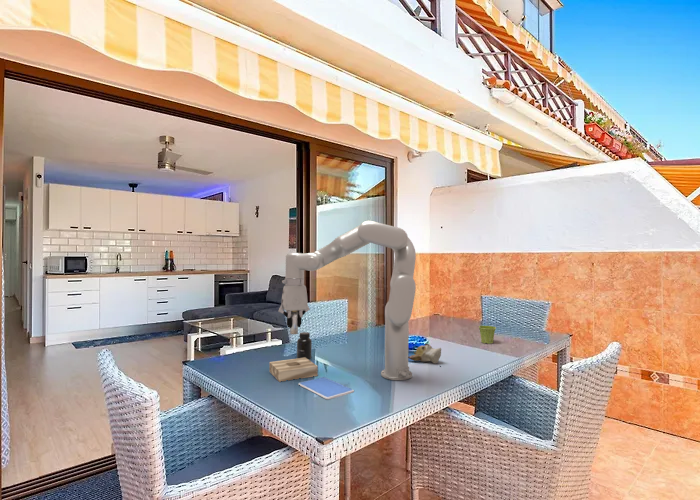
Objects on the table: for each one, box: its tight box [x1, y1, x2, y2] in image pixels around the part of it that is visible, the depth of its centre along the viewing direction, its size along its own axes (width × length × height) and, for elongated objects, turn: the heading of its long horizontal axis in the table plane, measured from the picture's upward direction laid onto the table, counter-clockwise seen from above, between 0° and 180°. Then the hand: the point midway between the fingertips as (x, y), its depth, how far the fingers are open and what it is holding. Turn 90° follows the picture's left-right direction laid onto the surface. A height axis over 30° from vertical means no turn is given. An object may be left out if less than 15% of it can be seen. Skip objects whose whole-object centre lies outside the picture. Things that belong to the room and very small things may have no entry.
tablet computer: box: [297, 376, 355, 400], centre depth 143 cm, size 19×13×1 cm, turn 39°
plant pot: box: [478, 325, 497, 345], centre depth 216 cm, size 9×9×9 cm
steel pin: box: [289, 310, 299, 335], centre depth 160 cm, size 3×3×10 cm
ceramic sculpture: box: [408, 343, 442, 364], centre depth 178 cm, size 11×9×15 cm
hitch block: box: [269, 357, 319, 383], centre depth 159 cm, size 14×16×4 cm
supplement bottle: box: [296, 331, 313, 360], centre depth 182 cm, size 7×7×12 cm
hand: (294, 326), depth 159 cm, fingers closed on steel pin, 3 cm apart
